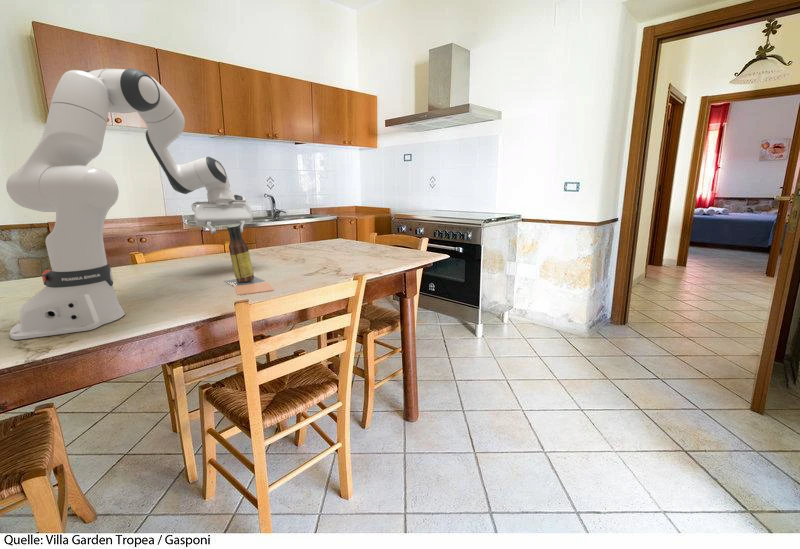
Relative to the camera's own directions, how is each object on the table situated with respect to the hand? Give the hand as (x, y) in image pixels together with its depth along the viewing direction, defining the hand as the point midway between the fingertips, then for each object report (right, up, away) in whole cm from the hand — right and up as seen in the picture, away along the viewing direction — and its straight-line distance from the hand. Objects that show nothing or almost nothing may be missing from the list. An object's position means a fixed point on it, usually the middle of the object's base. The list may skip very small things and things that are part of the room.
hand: (227, 232), depth 145 cm
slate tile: (+9, -19, -6) cm, 22 cm away
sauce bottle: (+9, -18, -6) cm, 21 cm away
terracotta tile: (+16, -21, -16) cm, 31 cm away
